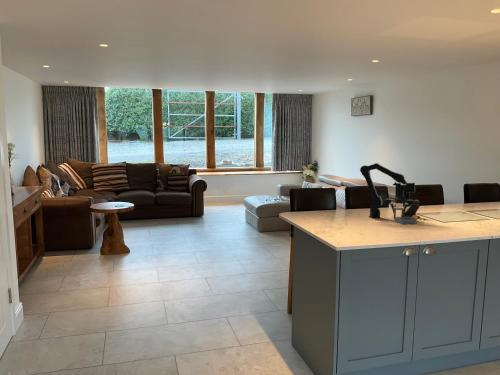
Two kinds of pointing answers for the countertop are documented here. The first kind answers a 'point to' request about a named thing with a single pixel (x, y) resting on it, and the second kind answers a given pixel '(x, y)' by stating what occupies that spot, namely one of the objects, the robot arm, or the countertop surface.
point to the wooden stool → (398, 209)
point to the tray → (405, 220)
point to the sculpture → (412, 209)
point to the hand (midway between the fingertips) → (398, 213)
